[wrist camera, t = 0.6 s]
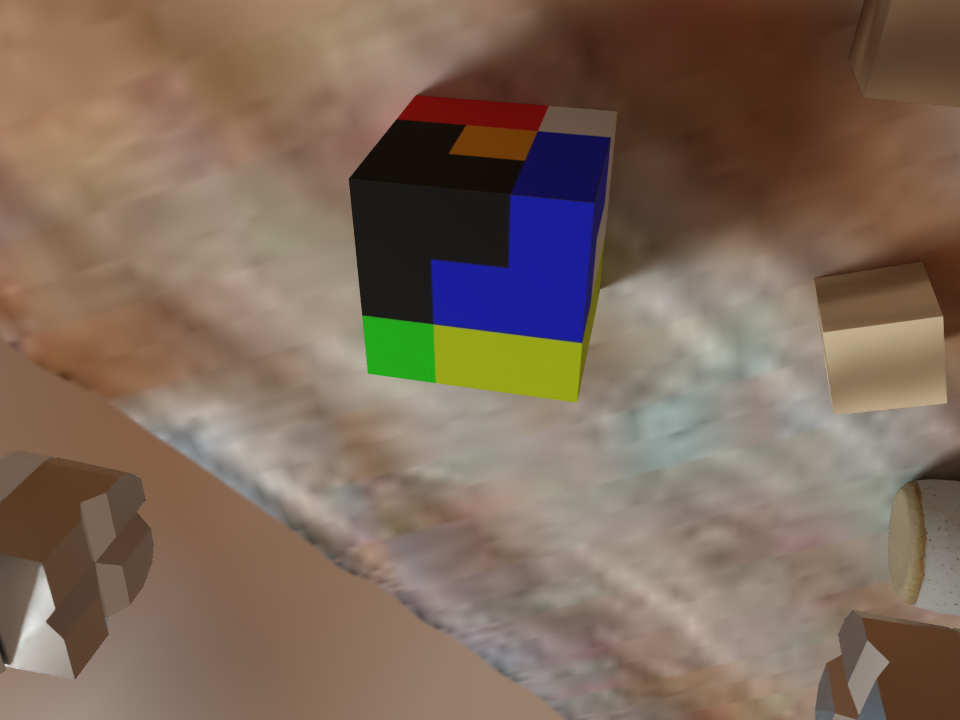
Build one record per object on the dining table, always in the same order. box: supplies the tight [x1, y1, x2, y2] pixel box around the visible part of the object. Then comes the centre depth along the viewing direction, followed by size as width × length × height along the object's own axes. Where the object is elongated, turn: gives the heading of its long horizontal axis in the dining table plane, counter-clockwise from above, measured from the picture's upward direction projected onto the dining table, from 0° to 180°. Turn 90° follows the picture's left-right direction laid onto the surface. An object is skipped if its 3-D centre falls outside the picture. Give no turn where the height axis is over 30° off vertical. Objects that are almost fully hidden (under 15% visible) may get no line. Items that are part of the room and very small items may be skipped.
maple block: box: [814, 262, 947, 415], centre depth 42 cm, size 5×5×5 cm
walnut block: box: [848, 0, 960, 107], centre depth 33 cm, size 5×5×5 cm
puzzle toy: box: [349, 95, 618, 402], centre depth 41 cm, size 10×10×10 cm
